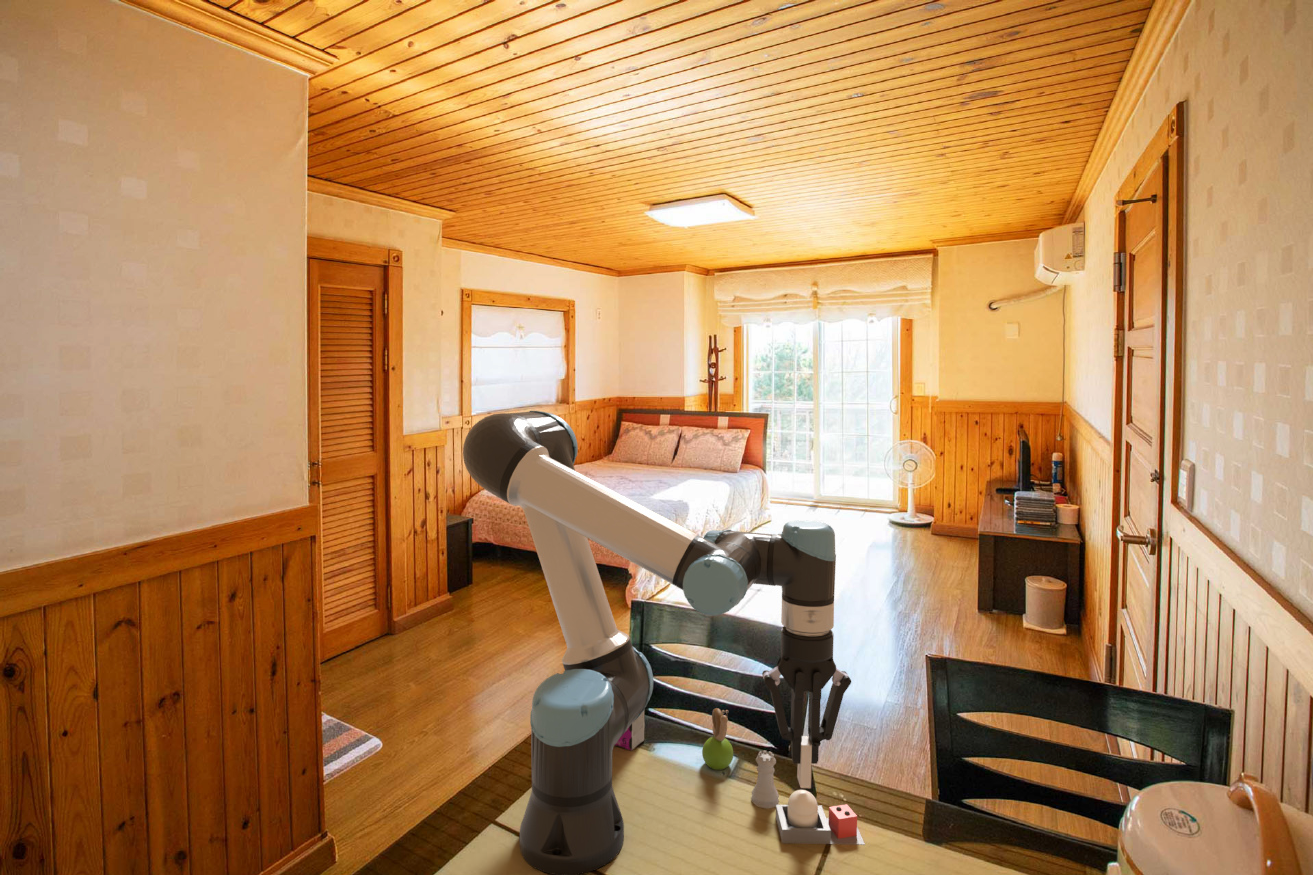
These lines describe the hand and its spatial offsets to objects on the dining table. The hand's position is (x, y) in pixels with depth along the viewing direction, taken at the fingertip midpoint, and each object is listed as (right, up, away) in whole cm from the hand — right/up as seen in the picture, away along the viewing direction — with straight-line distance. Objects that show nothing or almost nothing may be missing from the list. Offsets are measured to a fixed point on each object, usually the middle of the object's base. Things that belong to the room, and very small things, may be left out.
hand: (803, 782), depth 102 cm
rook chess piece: (-4, -8, +8) cm, 12 cm away
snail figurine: (-11, -7, +18) cm, 22 cm away
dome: (0, -6, 0) cm, 6 cm away
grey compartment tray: (+2, -8, +1) cm, 8 cm away
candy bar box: (-30, -6, +28) cm, 41 cm away
